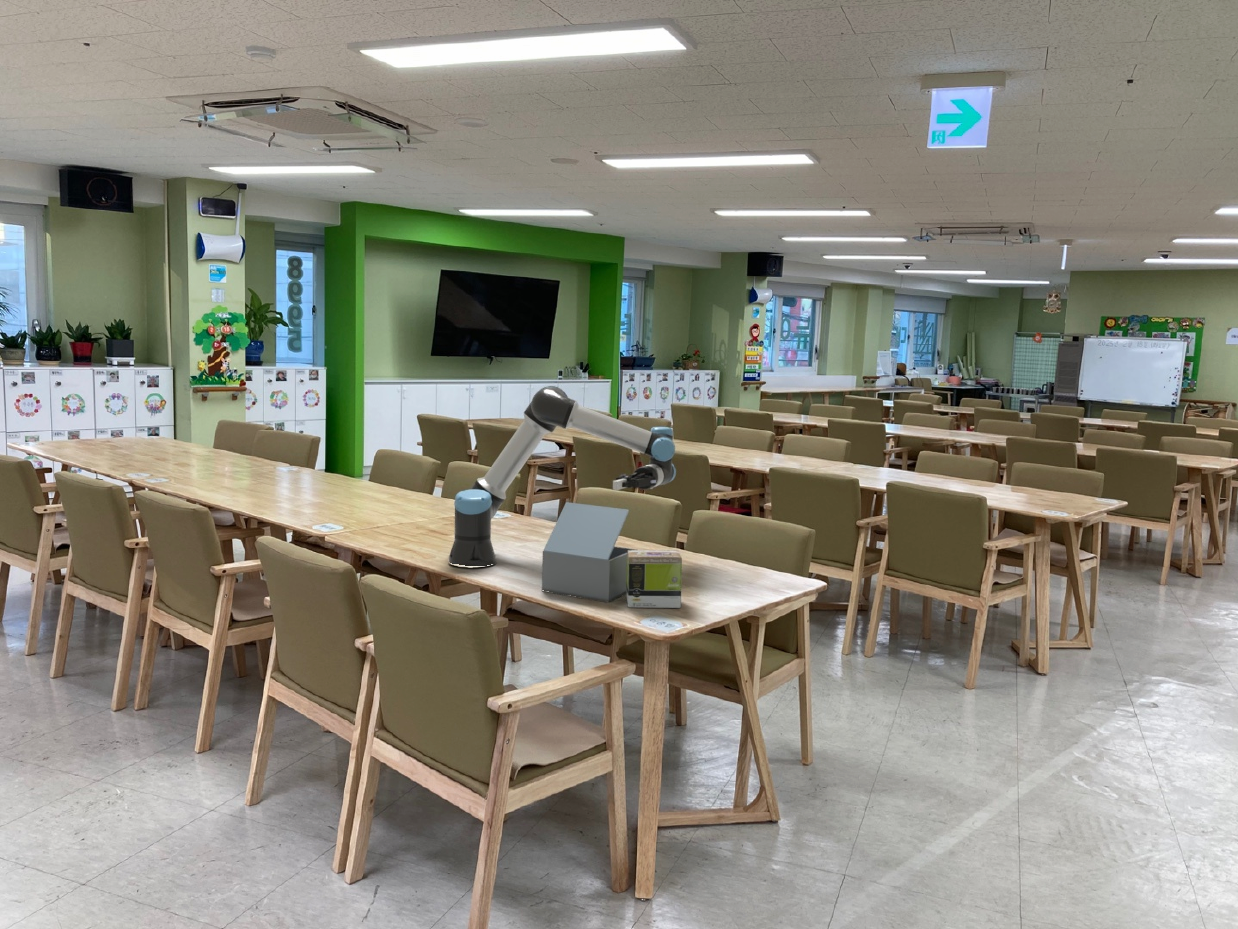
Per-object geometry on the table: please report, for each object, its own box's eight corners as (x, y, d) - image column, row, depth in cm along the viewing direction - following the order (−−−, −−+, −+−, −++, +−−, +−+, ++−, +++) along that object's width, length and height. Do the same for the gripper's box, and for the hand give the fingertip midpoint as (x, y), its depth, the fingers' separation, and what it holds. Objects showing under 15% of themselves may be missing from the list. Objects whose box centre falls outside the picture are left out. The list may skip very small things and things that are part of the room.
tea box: (677, 599, 273) (679, 549, 271) (680, 609, 263) (683, 557, 261) (625, 598, 273) (627, 548, 271) (626, 608, 263) (628, 556, 261)
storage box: (541, 591, 277) (542, 551, 276) (572, 578, 293) (573, 540, 292) (608, 602, 268) (609, 561, 266) (636, 588, 283) (637, 549, 282)
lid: (544, 551, 276) (543, 550, 275) (566, 503, 285) (566, 502, 285) (608, 560, 266) (607, 559, 266) (629, 510, 276) (628, 509, 275)
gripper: (665, 490, 308) (633, 499, 287) (629, 486, 314) (595, 495, 293) (666, 467, 307) (634, 475, 286) (630, 463, 313) (596, 471, 292)
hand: (615, 485), depth 289 cm, fingers closed
